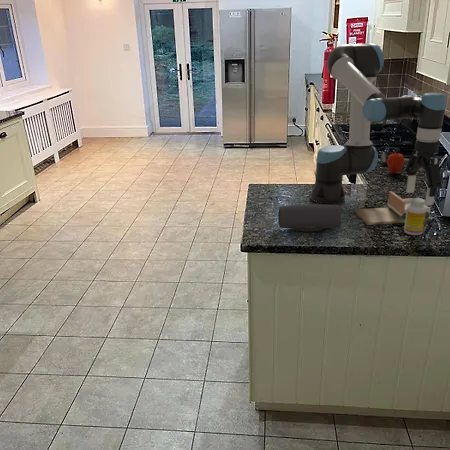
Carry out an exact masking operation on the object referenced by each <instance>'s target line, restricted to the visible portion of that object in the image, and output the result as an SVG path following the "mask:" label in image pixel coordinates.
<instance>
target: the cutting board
mask: <svg viewBox="0 0 450 450" xmlns="http://www.w3.org/2000/svg"><path fill="white" fill-rule="evenodd" d="M354 213H355V214H356V215H357V217H359V218H360V219H361V220H362V221H363V222H364V223H365V224H366V225H367V226H372V225H388V224H389V225H390V224H403V223H404V224H405V219H404V218H403V217H402V216H400V215H399V214H398V213H397V212H395V211H394V210H393V209H392V208H390V207H389V206H388V207H375V208H374V207H373V208H372V207H371V208H359V209H358V208H357V209H354ZM431 221H432V218H431V217H430V216H429V217H428V218H425V222H431Z"/></svg>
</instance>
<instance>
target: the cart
mask: <svg viewBox="0 0 450 450" xmlns="http://www.w3.org/2000/svg"><path fill="white" fill-rule="evenodd" d="M411 199H412V197H410V198H402V197H401V196H399V195H398V194H396V193H395V192H394V191H392V190H391V191H388V198H387V206H388V207H390V208H392V209H393V210H394V211H395V212H397V213H398V214H399V215H400V216H402V217H403V218H404V219H405V218H406V212H407V207H408V206H409V205H411ZM424 207H425V208H426V216H425V218H428V217H430V215H431V207H429V206H428V205H425V204H424Z"/></svg>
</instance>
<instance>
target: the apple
mask: <svg viewBox="0 0 450 450" xmlns="http://www.w3.org/2000/svg"><path fill="white" fill-rule="evenodd" d="M388 156H389V157H388V160H387V165H388V166H387V167H388V169H389V171H390V173H391V174H397V173H399V172H400V171H401V169H403V167H404V165H405V162H404V161H405V160H404V159H405V157H404V155H403V154H402V153H398V152H397V153H391V154H389V155H388Z"/></svg>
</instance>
